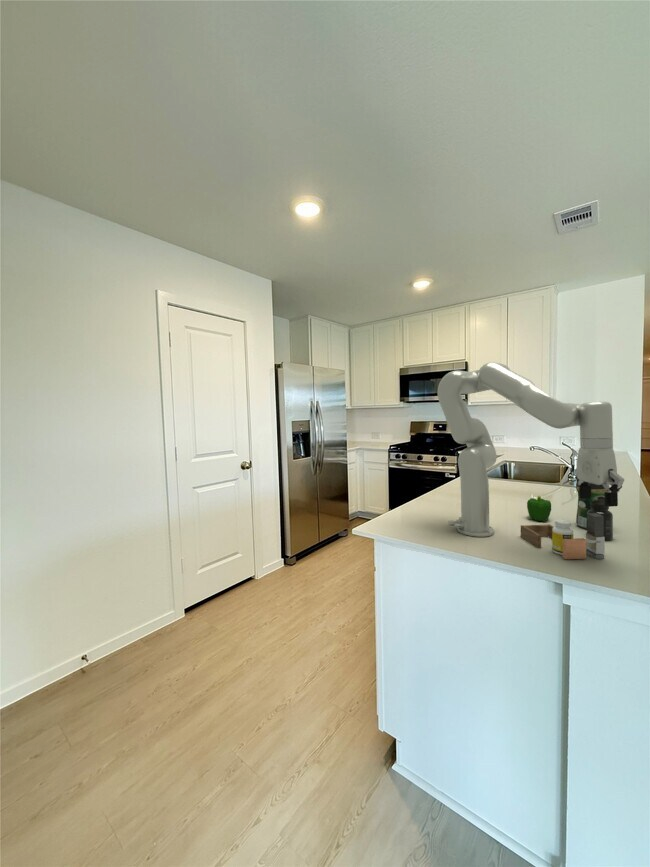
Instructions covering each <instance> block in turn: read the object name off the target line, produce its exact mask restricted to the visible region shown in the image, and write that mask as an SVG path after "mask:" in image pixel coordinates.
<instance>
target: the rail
mask: <svg viewBox="0 0 650 867" xmlns="http://www.w3.org/2000/svg"><path fill="white" fill-rule="evenodd" d="M586 556H589V557H591V558H593V559H595V560H605V554H595V553H593V552H592V551H590V550H588V549H586Z"/></svg>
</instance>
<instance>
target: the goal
mask: <svg viewBox="0 0 650 867" xmlns="http://www.w3.org/2000/svg"><path fill="white" fill-rule="evenodd" d="M553 527H555V525H554V526H553V525H551V524H525V525H522V524H521V525H520V537H521V538H522V539H524V540H525V539H526V541H527V542H528V541H529V543H530V544H531V545H533V546H535V547H537V548H538V547H539V548H542V538H546V537H548V538H550V539H552V529H553Z"/></svg>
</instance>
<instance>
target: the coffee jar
mask: <svg viewBox="0 0 650 867" xmlns="http://www.w3.org/2000/svg"><path fill="white" fill-rule="evenodd" d="M575 482H576V484H575V489H576V492H577V496H578V497H577V508H576V509H577V510H576V518H575V523H576V525H577V526H578V527H579V528H581V529H585V530H587V512H588V510H590V509H592V508H591V502H592V501H601V502H605V495H604V493H605V492H607V491H606V490H605V488H604V486H603V485H602V484H601V485H597V484H592V483H590V484H589V485H591V498H586V499H581V498H580V495H579V486H580V485H578V481H577V480H576V481H575Z"/></svg>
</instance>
